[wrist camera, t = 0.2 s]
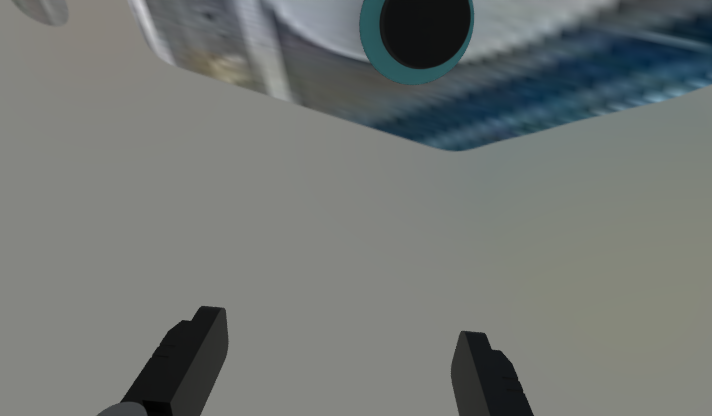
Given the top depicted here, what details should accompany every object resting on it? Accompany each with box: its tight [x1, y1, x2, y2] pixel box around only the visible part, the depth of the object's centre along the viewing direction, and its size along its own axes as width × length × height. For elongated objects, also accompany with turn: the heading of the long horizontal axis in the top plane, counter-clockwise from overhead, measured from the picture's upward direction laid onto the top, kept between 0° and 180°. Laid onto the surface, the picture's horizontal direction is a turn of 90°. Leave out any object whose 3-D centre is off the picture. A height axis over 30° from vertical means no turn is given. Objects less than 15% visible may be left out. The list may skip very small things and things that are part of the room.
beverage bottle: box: [359, 0, 474, 85], centre depth 25 cm, size 6×7×20 cm
